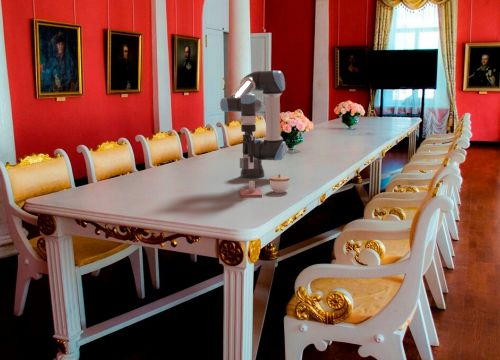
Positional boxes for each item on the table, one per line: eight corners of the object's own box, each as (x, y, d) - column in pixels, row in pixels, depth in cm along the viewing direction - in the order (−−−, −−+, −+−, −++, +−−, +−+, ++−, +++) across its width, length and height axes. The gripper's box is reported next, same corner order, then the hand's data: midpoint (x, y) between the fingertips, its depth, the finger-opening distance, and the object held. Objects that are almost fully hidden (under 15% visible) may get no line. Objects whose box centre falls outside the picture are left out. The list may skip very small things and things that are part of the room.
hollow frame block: (254, 166, 283) (253, 157, 282) (258, 168, 277) (258, 158, 276) (239, 167, 281) (239, 157, 280) (243, 169, 274) (243, 159, 273)
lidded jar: (273, 194, 276) (272, 176, 274) (266, 190, 286) (266, 173, 285) (292, 193, 279) (292, 175, 277) (285, 189, 289) (285, 172, 287)
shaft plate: (240, 191, 285) (240, 178, 284) (260, 190, 285) (260, 178, 284) (240, 197, 270) (240, 184, 268) (262, 196, 270) (262, 184, 269)
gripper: (236, 123, 283) (236, 165, 287) (247, 125, 264) (247, 170, 268) (249, 122, 285) (249, 164, 289) (261, 125, 267) (261, 169, 270)
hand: (248, 167), depth 279 cm, fingers closed on hollow frame block, 7 cm apart
